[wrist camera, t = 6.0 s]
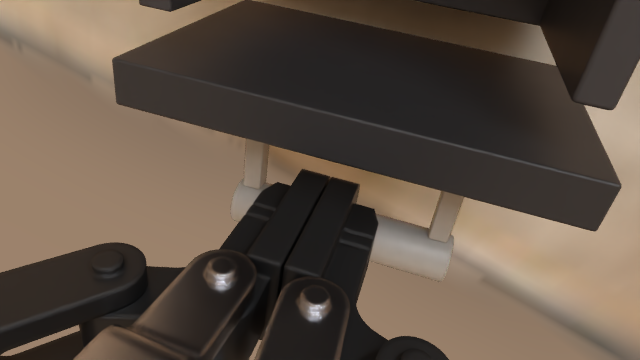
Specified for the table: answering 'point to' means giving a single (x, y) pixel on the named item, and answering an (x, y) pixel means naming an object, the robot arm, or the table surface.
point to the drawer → (404, 106)
